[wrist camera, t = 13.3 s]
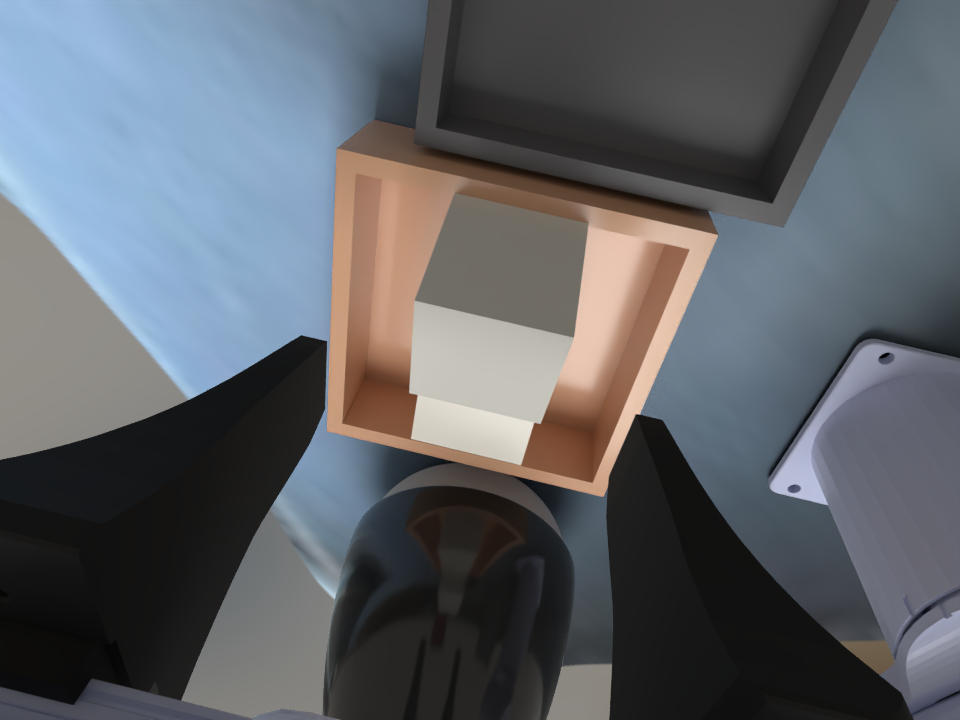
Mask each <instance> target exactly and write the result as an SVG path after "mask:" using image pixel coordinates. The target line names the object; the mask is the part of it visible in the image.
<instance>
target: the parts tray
mask: <svg viewBox="0 0 960 720" xmlns="http://www.w3.org/2000/svg"><path fill="white" fill-rule="evenodd" d="M897 1H898V0H429V6H428V15H427V24H426V34H425V43H424V52H423V61H422V71H421V80H420V89H419V98H418V108H417V117H416V126H415V135H414V144H416V145H420V146H425V147H429V148H433V149H438V150H442V151H447V152H451V153H455V154H460V155H464V156H469V157H473V158H478V159H482V160H486V161H491V162H495V163H500V164H504V165H509V166H513V167H517V168H522V169H526V170H531V171H535V172H540V173H544V174H548V175H553V176H557V177H562V178H566V179H571V180H575V181H579V182H584V183H588V184H593V185H597V186H601V187H606V188H610V189H615V190H619V191H624V192H628V193H632V194H637V195H641V196H646V197H650V198H655V199H659V200H663V201H668V202H672V203H677V204H681V205H686V206H690V207H694V208H699V209H703V210H708V211H712V212H717V213H721V214H725V215H730V216H734V217H739V218H743V219H747V220H752V221H756V222H761V223H765V224H770V225H774V226H778V227H784V225H785V223H786V221H787V220H788V218H789V216H790V214H791V212H792V210H793V208H794V206H795V204H796V202H797V200H798V198H799V196H800V194H801V192H802V190H803V188H804V186H805V184H806V182H807V180H808V178H809V176H810V174H811V172H812V170H813V168H814V166H815V164H816V162H817V160H818V158H819V156H820V154H821V152H822V150H823V148H824V146H825V144H826V142H827V140H828V138H829V136H830V134H831V132H832V130H833V128H834V126H835V124H836V122H837V120H838V118H839V116H840V114H841V112H842V110H843V108H844V106H845V104H846V102H847V100H848V98H849V97H850V95H851V93H852V91H853V89H854V87H855V85H856V83H857V81H858V79H859V77H860V75H861V73H862V71H863V69H864V67H865V65H866V63H867V61H868V59H869V57H870V55H871V53H872V51H873V49H874V47H875V45H876V43H877V41H878V39H879V37H880V35H881V33H882V31H883V29H884V27H885V25H886V23H887V21H888V19H889V17H890V15H891V13H892V11H893V9H894V7H895V5H896V3H897Z"/></svg>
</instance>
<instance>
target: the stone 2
mask: <svg viewBox="0 0 960 720" xmlns="http://www.w3.org/2000/svg"><path fill="white" fill-rule="evenodd" d="M533 425H534V422H530V421H525V420H521V419H517V418H513V417H508V416H504V415H500V414H496V413H491V412H487V411H483V410H479V409H475V408H470V407H466V406H462V405H458V404H453V403H449V402H445V401H441V400H436V399H432V398H428V397H424V396H420V395H418V396H417V403H416V409H415V416H414V423H413V429H412V436H411V439H413V440H417V441H422V442H426V443H430V444H434V445H438V446H442V447H447V448H451V449H455V450H459V451H463V452H467V453H472V454H476V455H480V456H484V457H488V458H492V459H497V460H501V461H505V462H509V463H513V464H517V465H521V464H522V460H523V457H524V454H525V451H526V448H527V444H528V441H529V438H530V435H531V432H532V428H533Z"/></svg>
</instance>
